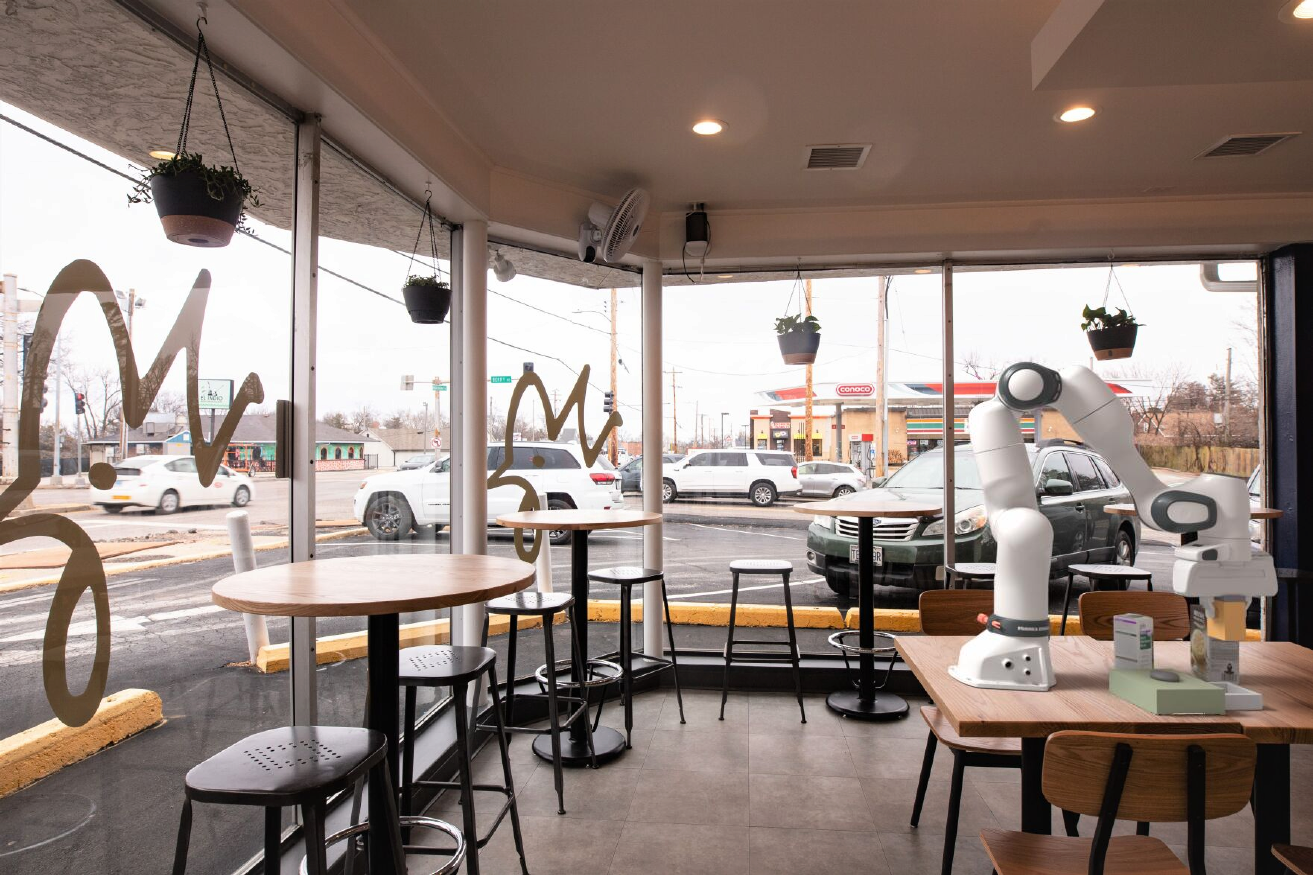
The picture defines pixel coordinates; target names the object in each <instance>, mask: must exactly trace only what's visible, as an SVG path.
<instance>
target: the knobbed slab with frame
mask: <svg viewBox="0 0 1313 875" xmlns="http://www.w3.org/2000/svg"><path fill="white" fill-rule="evenodd" d="M1108 671H1109V672H1108V674H1109V677H1108V678H1109V680H1108V685H1109V686H1108V688H1109V691H1108V692H1109V694H1112V695H1113V696H1116V697H1117V698H1119V699H1122V700H1124V701H1126V702H1128V703H1131V704H1132V705H1134V704H1135V706H1137V707H1139V708H1140V709H1143V710H1145V711H1147V712H1148V713H1151V712H1153V713H1154V715H1155V714H1157V715H1156V716H1160V715H1159V714H1173V713H1203V714H1204V713H1205V714H1220V715H1219V716H1223V715H1224V716H1225V715H1226V711H1239V710H1240V711H1255V710H1256V711H1258V710H1259V711H1261V710H1262V711H1263V705H1264V704H1263V703H1264V702H1263V694H1261V693H1259V692H1256V691H1254V690H1250V689H1249V688H1248V689H1247V688H1245V687H1243V686H1240V685H1238V684H1232V683H1229V682H1208V681H1206V680H1202V679H1199V678H1197V677H1194V676H1192V675H1188V674H1186V673H1184V672H1181V671H1178V670H1175V669H1174V668H1154V669H1115V668H1109V670H1108ZM1153 713H1152V714H1153Z"/></svg>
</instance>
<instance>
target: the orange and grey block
mask: <svg viewBox="0 0 1313 875" xmlns="http://www.w3.org/2000/svg"><path fill="white" fill-rule="evenodd" d="M1245 602H1246V596H1221V597H1214V602H1211V603H1212V605H1213V607H1214V609H1216V610H1219V614H1218V615H1219V618H1213V619H1212V618H1207V635H1208V636H1211V637H1214V638H1218V639H1221V640H1224V641H1237V640H1239V641H1247V624H1246V621H1247V620H1246V618H1247V613H1246V614H1245Z"/></svg>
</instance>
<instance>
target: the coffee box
mask: <svg viewBox="0 0 1313 875" xmlns="http://www.w3.org/2000/svg"><path fill="white" fill-rule="evenodd" d="M1189 610H1190V611H1189V612H1190V613H1189V617H1190V623H1189V624H1190V636H1189V637H1190V642H1189V643H1190V644H1189V645H1190V646H1189V647H1190V649H1189V650H1190V657H1189V658H1190V659H1189V661H1190V666H1189V667H1190V672H1191V673H1192V674H1194V675H1196V676H1198V677H1199V678H1201V679H1203V681H1205V682H1229V683H1232V684H1235V685H1237V686H1240V640H1237V641H1224V640H1221V639H1218V638H1214V637H1211V636H1208V635H1207V617H1206V613H1205V608H1204V606H1203V605H1202V604H1190V609H1189Z"/></svg>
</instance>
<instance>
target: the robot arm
mask: <svg viewBox="0 0 1313 875" xmlns="http://www.w3.org/2000/svg"><path fill="white" fill-rule="evenodd" d="M1043 406H1048V407H1051V408H1052V409H1055V410H1056V411H1058V413H1059V414H1060V415H1061V416H1062V417H1063V418H1064V419H1065V421H1066V422H1067V424H1068V425H1069V426H1070V428H1071V429H1072V430H1073V432H1075V433H1076V435H1078V436H1079V438H1080V439H1081V440H1082V441H1084V443H1085V444H1086V445H1087V446H1089V448H1091V449H1092V450H1093V451H1094V452H1095V453H1096V454H1098V455H1099V456H1100V457H1101V458H1102V459H1103V460H1104V461H1105V462H1106V463H1107V465H1109V467H1110V468H1111V469H1112V471H1113V472H1114V473H1115V475H1116V476H1117V477H1118V479H1119V480H1120V482H1121V483H1122V484H1123V485H1124V487H1125V488H1126V490H1127V491H1128V492H1129V494H1130V496H1131V499H1132V502H1133V507H1134V513H1135V514H1136V516H1137V518H1138V520H1139V521H1140V523H1141V524H1142V525H1144V526H1145V527H1147V528H1148V529H1151V530H1152V531H1157V532H1164V533H1168V534H1174V535H1181V534H1186V533H1194V532H1197V539H1196V540H1195V541H1192V542H1188V543H1187V544H1183V545H1181V546H1180V545H1179V546H1178V547H1175V548H1174V550H1173V552H1174V556H1175V558H1177V559H1176V561H1175V562H1174V564H1173V566H1172V589H1173V591H1174V592H1175V593H1176V594H1177V595H1179V596H1182V597H1186V598H1199V602H1200V603H1201V605H1203V606H1204V608H1205V613H1206V617H1207V618H1212V619H1213V618H1219V615H1218V614H1219V610H1216V609H1214V607H1213V605H1212V603H1211V602H1214V597H1221V596H1246V602H1245V614H1246V615H1247V610H1248V609H1249V607H1250V606H1251V604H1252V602H1253V600H1252V599H1253V597H1274V596H1275V595H1277V593H1278V590H1279V589H1278V587H1279V584H1278V579H1277V573H1276V568H1275V566H1274V557H1273V556H1272V555H1271V553H1268V552H1267V551H1266V550H1252V535H1251V532H1250V529H1249V525H1250V524H1249V523H1250V520H1251V518H1252V515H1251V514H1252V513H1251V500H1250V493H1249V489H1248V485H1247V483H1246V481H1245V480H1244V479H1243V478H1241V477H1239V476H1237V475H1232V474H1228V473H1227V474H1226V473H1220V472H1209V471H1207V472H1206V471H1205V472H1202V473H1200V475H1198V476H1197V477H1195V478H1193V479H1191V480H1189V481H1186V482H1184V483H1181V484H1178V485H1174V486H1172V487H1171V486H1169V485H1167V484H1165V483H1164V482H1162V481H1161V480H1160V479H1159V478H1158V477H1157V475H1156V474H1155V473H1154V472H1153V469H1151V467H1150V466H1149V465H1148V464H1147V462H1146V460H1144V458H1143V456H1141V454H1140V453H1139V451H1138V449H1137V447H1136V445H1135V440H1134V439H1135V438H1134V434H1135V421H1134V418H1132V416H1131V413H1130V412H1129V410H1128V409H1127V407H1126V405H1125V403H1124V402H1123V401H1122V400H1121V398H1120V397H1119V396H1118V395H1117V394H1116V393H1115V392H1114V390H1113V389H1112V388H1111V387H1110V386H1109V385H1108V384H1107V383H1106V382H1105V381H1104V380H1103V379H1102V378H1101V377H1100V376H1098V375H1097V374H1096V373H1095V372H1094V371H1093V370H1092V369H1090V368H1089V367H1087V366H1085V365H1080V364H1076V365H1070V366H1067V367H1065V368H1062V369H1061V370H1059V371H1057V370H1054V369H1051V368H1050V367H1046V366H1044V365H1041V364H1039V363H1036V362H1032V361H1020V362H1017V363H1013V364H1012V365H1010V366H1009V367H1007V368H1005V369H1004V370H1003V371H1002V373H1001V374H1000V375H999V377H998V378H997V382H996V388H995V391H994V394H993V397H992V399H989V400H987V401H986V400H985V401H984V402H981V403H979V404H977V405H975V406H974V407H973V408H972V409H971V410H970V412H969V414H968V430H969V432H968V433H969V439H970V444H971V448H972V453H973V456H974V461H975V465H976V469H977V472H978V475H979V479H980V483H981V487H982V493H983V499H984V504H985V508H986V513H987V514H986V515H987V517H988V522H989V527H990V530H991V535H992V537H993V539H994V541H995V542H996V543H997V548H996V549H997V550H996V561H995V562H996V563H995V571H994V572H995V573H994V578H993V587H994V588H993V612H992V614H991V615H990V616H988V615H986V614H984V613H979V614H978V616H977V621H978V622H979V623H981V624H984V625H986V629H985V630H983V631H982V632H980V633H979V634H978V635H977V636H975V637H973V638H972V639H971V640H969V641H968V642H967V643H964V644H963V645H962V646H961V649H960V652H959V656H958V663H957V665H956V664H955V665H949V666H948V668H947V672H948V674H949V675H950V676H951V677H952V678H953V679H955V680H957V681H959V682H961V683H963V684H966V685H969V686H972V687H975V688H980V689H981V688H983V689H1001V690H1003V689H1005V690H1021V691H1023V690H1024V691H1036V692H1037V691H1038V692H1039V691H1041V692H1046V691H1049V690H1050V687H1053V686H1055V685H1056V684H1057V679H1056V676H1055V674H1054V669H1053V666H1052V659H1051V653H1050V641H1051V640H1050V638H1051V619H1050V617H1049V577H1050V572H1051V571H1050V570H1051V565H1052V564H1051V563H1052V556H1053V555H1052V554H1053V545H1054V543H1053V542H1054V529H1053V526H1052V524H1051V522H1050V520H1049V519H1048V517H1046V515H1044V514H1043V513H1042V512H1040V509H1039V507H1038V506H1039V505H1038V500H1037V495H1036V489H1035V488H1036V487H1035V478H1034V474H1033V469H1032V464H1031V462H1030V459H1029V455H1028V451H1027V447H1026V443H1025V439H1024V437H1023V433H1022V429H1021V419H1022V417H1023V415H1025V414H1026V413H1028V412H1031V411H1034V410H1036V409H1039V408H1041V407H1043Z"/></svg>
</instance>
